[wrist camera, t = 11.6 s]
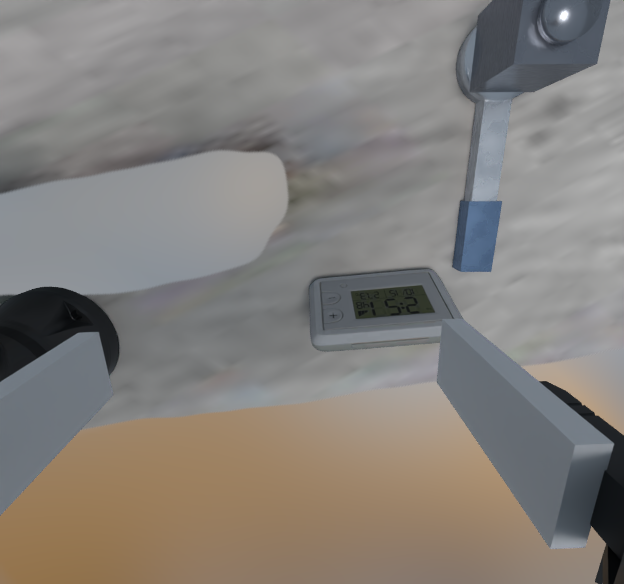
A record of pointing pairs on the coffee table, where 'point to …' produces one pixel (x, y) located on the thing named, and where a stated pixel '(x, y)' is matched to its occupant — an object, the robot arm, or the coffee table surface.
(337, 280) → the digital clock
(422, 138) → the coffee table surface
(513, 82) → the socket
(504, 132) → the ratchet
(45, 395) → the robot arm
